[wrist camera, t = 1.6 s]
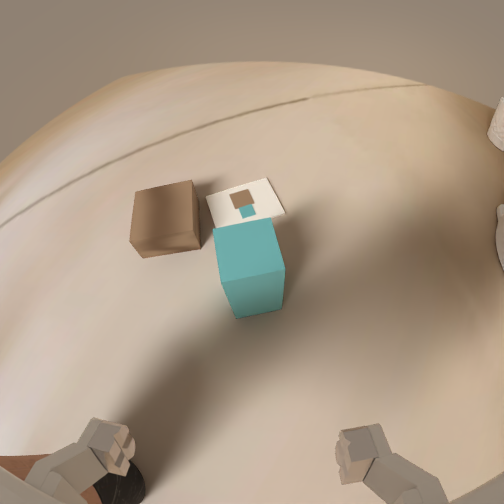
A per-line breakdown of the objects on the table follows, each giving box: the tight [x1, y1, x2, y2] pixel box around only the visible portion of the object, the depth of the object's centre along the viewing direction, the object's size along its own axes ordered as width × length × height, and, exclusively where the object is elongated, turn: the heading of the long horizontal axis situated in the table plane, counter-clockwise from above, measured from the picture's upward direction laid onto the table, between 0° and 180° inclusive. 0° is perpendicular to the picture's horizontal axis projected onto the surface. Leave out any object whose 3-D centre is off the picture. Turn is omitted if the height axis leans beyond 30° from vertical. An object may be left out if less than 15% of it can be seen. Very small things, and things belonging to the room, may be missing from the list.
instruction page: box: [205, 178, 285, 228], centre depth 34 cm, size 8×6×1 cm
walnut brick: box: [129, 180, 201, 258], centre depth 32 cm, size 7×7×4 cm
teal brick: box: [213, 217, 285, 319], centre depth 25 cm, size 4×4×9 cm
